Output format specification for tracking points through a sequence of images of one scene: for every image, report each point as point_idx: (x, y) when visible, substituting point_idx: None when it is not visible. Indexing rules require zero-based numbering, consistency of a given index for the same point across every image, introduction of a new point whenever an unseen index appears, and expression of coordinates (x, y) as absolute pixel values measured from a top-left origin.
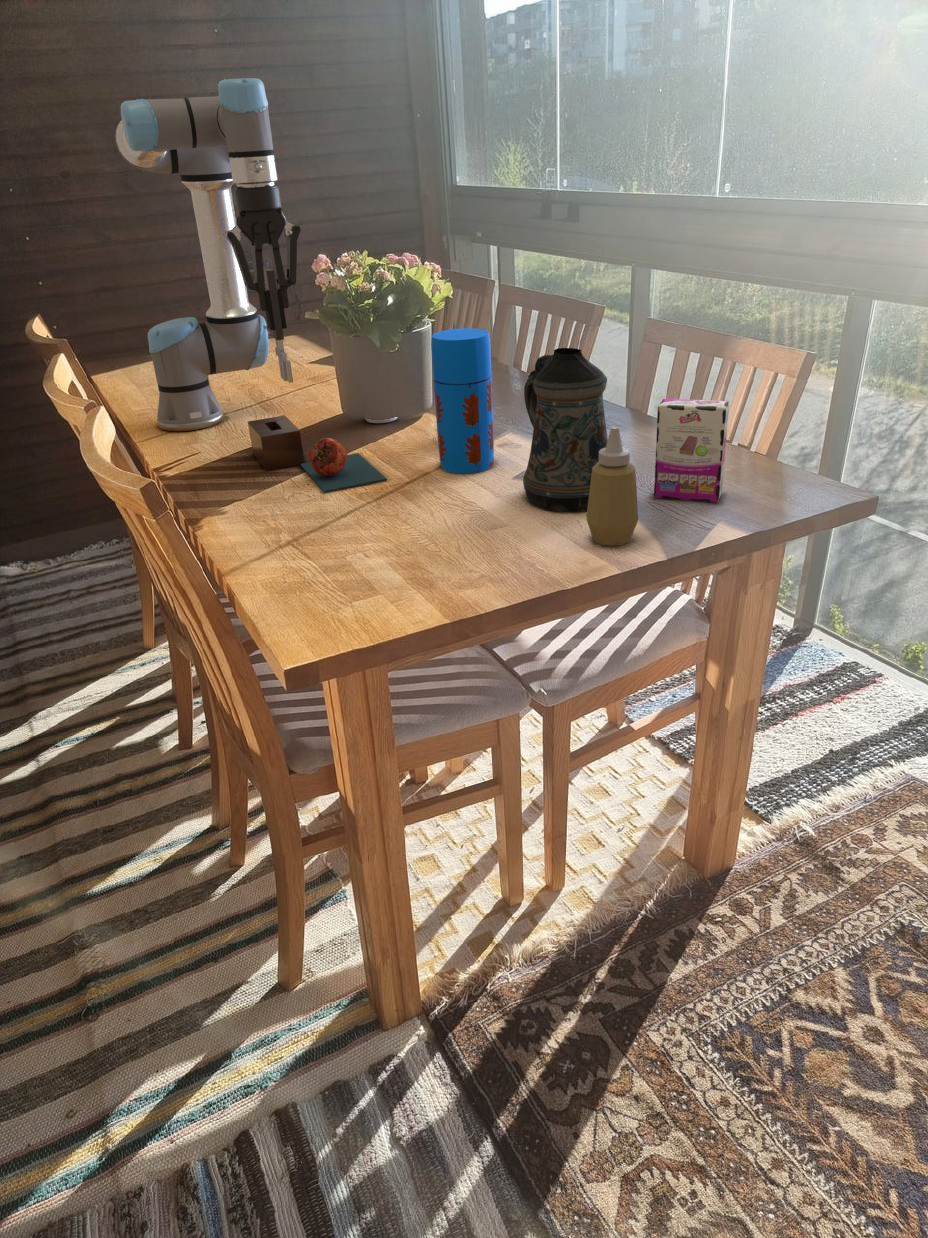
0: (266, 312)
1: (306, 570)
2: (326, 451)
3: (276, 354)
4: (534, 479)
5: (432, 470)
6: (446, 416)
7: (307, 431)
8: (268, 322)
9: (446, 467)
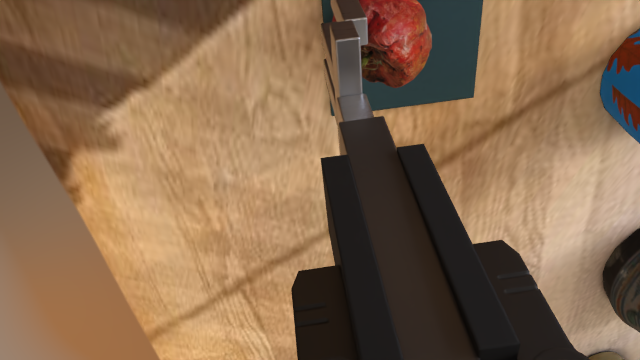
0: (336, 251)
1: (254, 351)
2: (377, 67)
3: (331, 41)
4: (626, 307)
5: (581, 74)
6: None
7: None
8: (329, 218)
9: (604, 98)
